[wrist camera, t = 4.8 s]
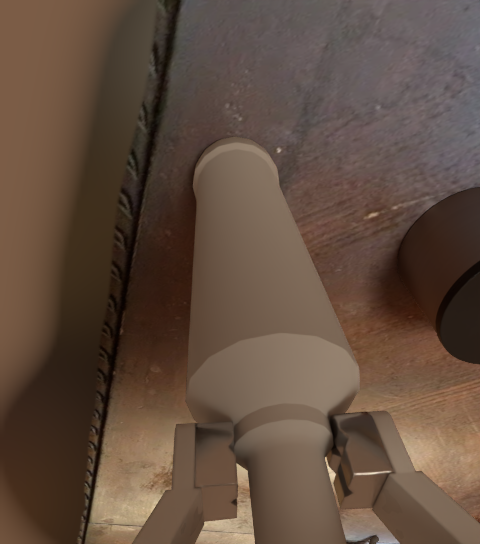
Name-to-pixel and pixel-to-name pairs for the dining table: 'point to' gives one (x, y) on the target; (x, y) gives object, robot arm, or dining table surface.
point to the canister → (447, 271)
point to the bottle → (266, 344)
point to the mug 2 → (374, 540)
